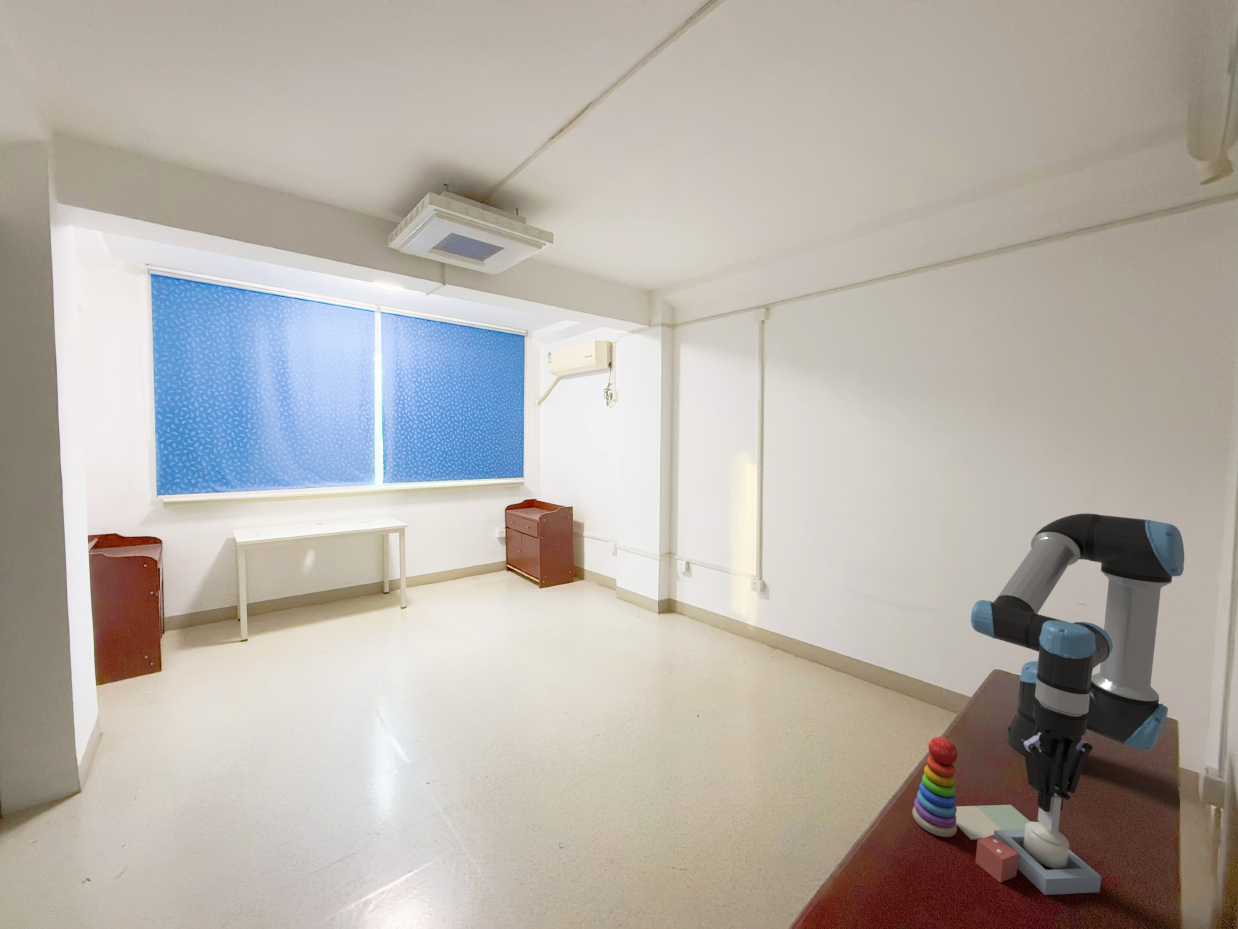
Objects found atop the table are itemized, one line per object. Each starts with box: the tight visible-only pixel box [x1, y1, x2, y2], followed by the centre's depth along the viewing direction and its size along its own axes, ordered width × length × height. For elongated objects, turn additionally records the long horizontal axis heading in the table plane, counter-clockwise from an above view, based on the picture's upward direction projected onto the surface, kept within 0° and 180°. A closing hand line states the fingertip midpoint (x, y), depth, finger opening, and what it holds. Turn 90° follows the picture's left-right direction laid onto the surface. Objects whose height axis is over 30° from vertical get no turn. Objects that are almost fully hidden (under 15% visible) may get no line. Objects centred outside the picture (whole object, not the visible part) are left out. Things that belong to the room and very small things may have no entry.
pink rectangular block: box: [974, 835, 1019, 883], centre depth 94 cm, size 4×4×5 cm
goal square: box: [975, 804, 1031, 830], centre depth 106 cm, size 8×8×1 cm
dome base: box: [994, 829, 1102, 896], centre depth 95 cm, size 11×11×3 cm
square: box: [956, 805, 1001, 841], centre depth 105 cm, size 8×8×1 cm
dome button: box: [1023, 821, 1070, 870], centre depth 95 cm, size 6×6×5 cm
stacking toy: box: [911, 736, 958, 838], centre depth 104 cm, size 8×8×19 cm
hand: (1047, 825), depth 94 cm, fingers closed
